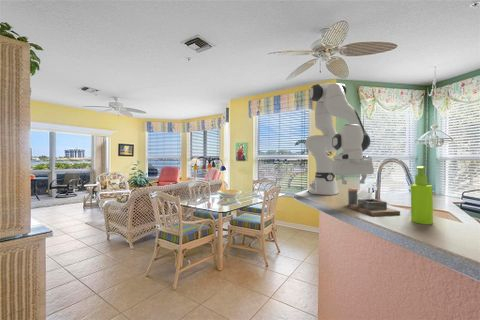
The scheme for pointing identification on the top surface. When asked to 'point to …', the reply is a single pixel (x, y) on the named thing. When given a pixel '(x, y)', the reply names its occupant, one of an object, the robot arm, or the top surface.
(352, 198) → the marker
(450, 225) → the top surface
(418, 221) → the soap dispenser
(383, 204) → the wooden socket board
